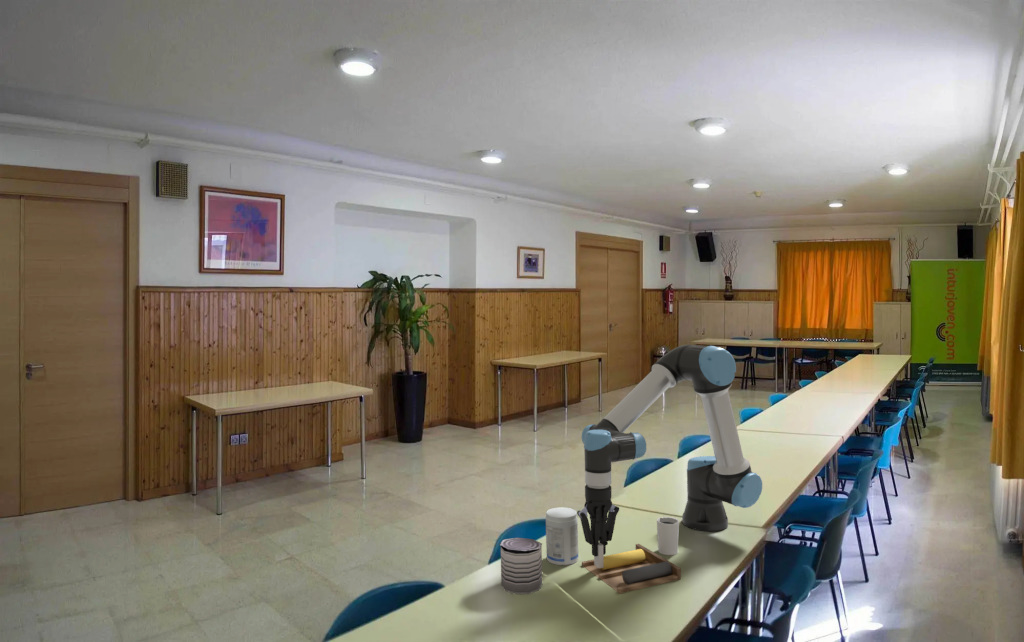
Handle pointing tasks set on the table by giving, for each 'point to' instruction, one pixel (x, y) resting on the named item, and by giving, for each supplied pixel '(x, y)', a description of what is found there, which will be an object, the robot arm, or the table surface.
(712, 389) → the robot arm
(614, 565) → the ochre rod
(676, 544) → the white cup
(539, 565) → the can
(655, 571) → the charcoal rod
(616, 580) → the walnut slot rack
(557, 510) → the supplement tub
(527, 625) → the table surface
